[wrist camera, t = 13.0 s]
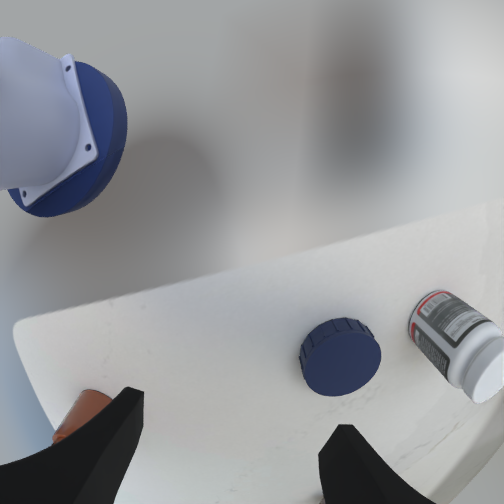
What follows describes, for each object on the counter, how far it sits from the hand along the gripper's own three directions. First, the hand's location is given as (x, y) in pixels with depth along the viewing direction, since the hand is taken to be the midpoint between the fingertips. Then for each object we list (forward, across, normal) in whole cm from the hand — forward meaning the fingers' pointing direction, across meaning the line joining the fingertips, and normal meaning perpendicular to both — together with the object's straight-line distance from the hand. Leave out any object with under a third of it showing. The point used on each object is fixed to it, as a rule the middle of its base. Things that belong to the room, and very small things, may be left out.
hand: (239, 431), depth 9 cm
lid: (+8, -7, +1) cm, 10 cm away
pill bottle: (+10, -14, -2) cm, 17 cm away
